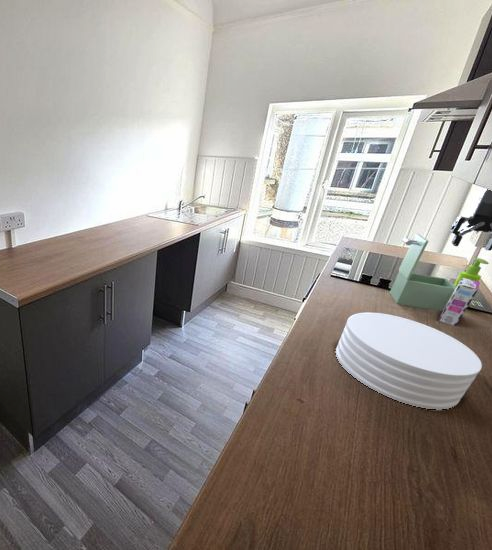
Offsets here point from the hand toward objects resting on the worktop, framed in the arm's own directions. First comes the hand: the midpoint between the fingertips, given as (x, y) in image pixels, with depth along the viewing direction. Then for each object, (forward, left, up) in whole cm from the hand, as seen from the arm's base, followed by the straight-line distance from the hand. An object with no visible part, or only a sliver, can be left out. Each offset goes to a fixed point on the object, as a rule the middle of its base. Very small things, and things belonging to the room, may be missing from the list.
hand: (471, 247), depth 105 cm
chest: (+3, -11, -28) cm, 31 cm away
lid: (+10, -11, -9) cm, 17 cm away
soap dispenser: (-13, -20, -29) cm, 38 cm away
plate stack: (+24, +49, -29) cm, 61 cm away
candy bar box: (-3, +3, -29) cm, 29 cm away
